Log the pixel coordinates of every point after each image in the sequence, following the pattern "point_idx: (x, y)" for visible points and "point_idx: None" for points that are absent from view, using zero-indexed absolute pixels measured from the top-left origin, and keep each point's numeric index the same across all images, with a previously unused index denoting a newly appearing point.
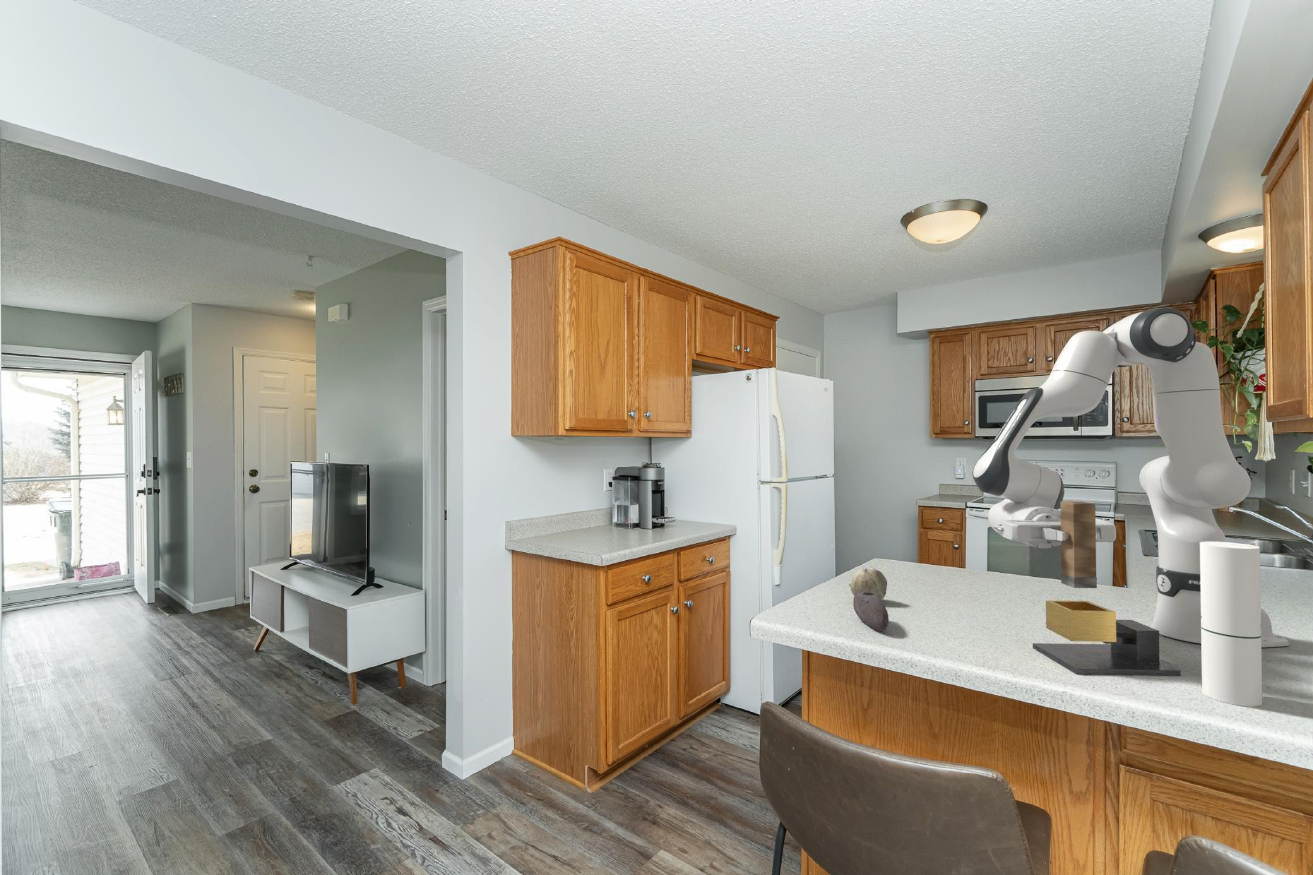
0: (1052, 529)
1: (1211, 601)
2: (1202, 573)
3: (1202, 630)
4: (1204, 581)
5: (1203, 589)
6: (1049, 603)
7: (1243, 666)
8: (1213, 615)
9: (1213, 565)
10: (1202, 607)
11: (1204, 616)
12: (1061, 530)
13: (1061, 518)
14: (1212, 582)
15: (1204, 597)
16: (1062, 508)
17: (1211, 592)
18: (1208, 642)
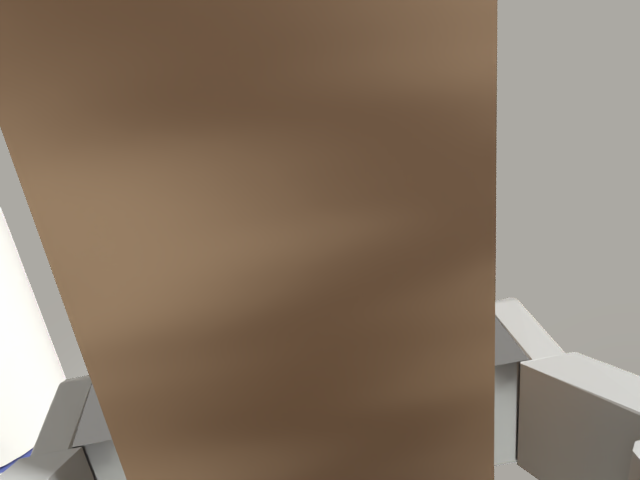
0: (629, 398)
1: (50, 340)
2: (2, 277)
3: None
4: (19, 297)
5: (29, 329)
6: None
7: None
8: (65, 377)
9: (3, 215)
10: (46, 396)
11: None
12: (488, 424)
13: (486, 242)
14: (25, 278)
15: (40, 351)
16: (469, 29)
17: (39, 312)
18: None
